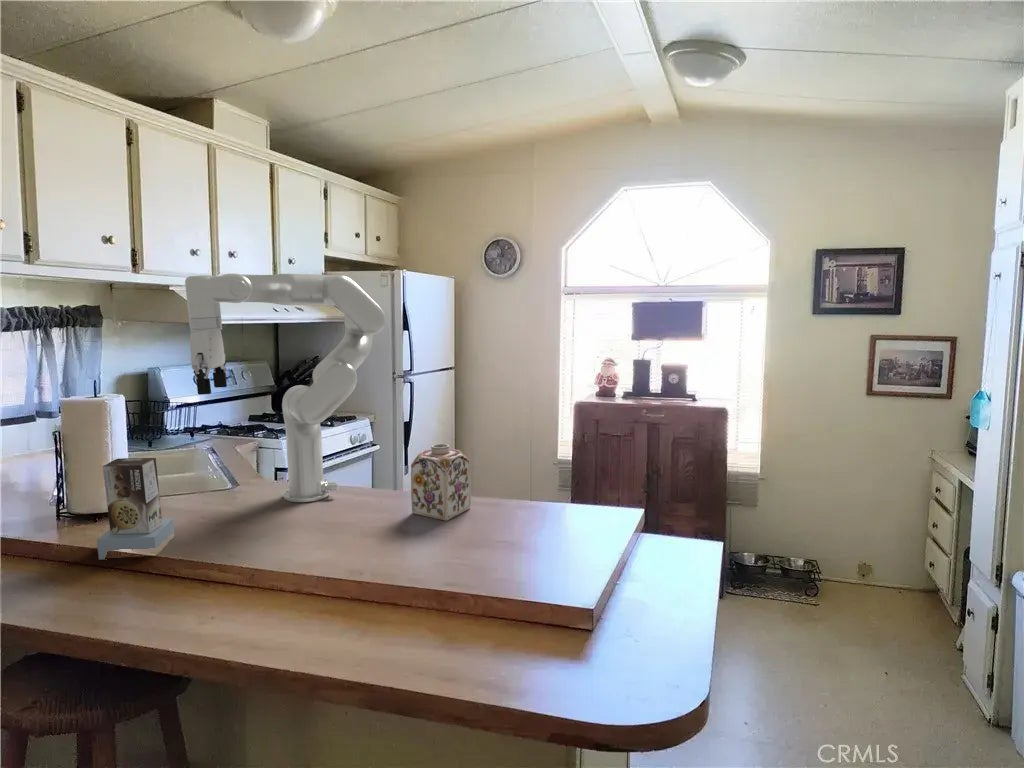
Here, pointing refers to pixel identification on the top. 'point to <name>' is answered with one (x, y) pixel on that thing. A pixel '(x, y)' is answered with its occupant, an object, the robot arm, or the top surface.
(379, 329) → the robot arm
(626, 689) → the top surface
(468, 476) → the decorative jar
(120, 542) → the grey block
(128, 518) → the cookie box
